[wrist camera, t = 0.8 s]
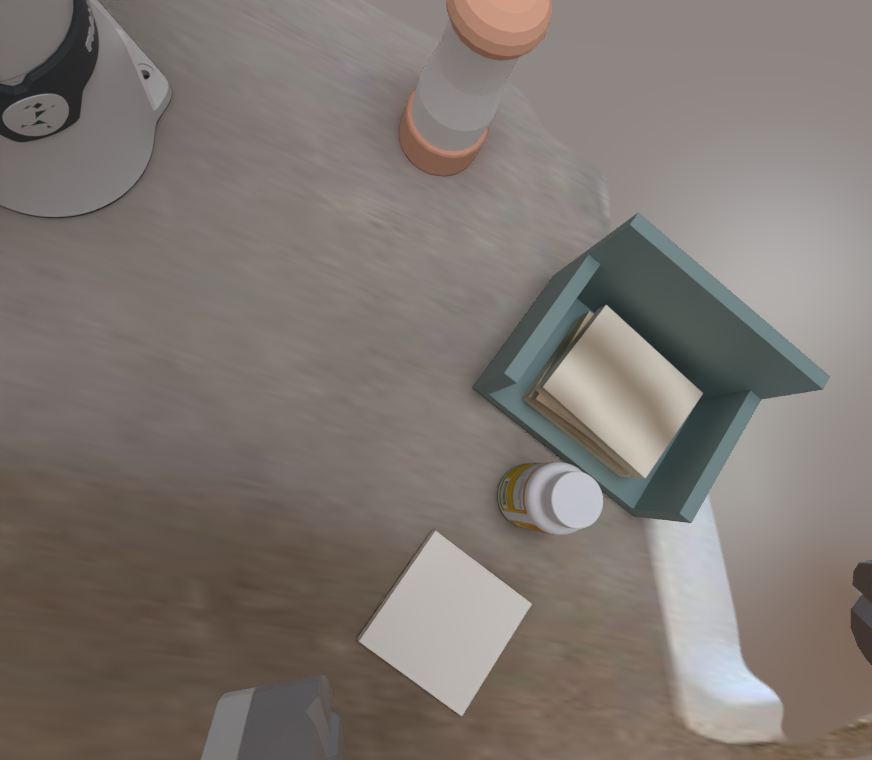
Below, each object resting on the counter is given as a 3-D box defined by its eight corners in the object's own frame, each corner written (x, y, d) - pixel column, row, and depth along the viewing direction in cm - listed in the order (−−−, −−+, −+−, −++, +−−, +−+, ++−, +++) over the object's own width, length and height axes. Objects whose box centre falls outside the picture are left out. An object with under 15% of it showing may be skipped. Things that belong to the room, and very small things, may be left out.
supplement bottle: (567, 503, 54) (627, 509, 44) (519, 541, 52) (570, 555, 43) (532, 451, 54) (585, 446, 44) (484, 487, 52) (527, 490, 43)
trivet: (458, 711, 49) (461, 716, 48) (357, 638, 48) (358, 641, 47) (527, 601, 51) (531, 603, 50) (432, 529, 50) (435, 530, 50)
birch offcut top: (635, 478, 50) (645, 478, 49) (535, 389, 50) (542, 386, 48) (691, 395, 53) (703, 393, 51) (597, 309, 52) (606, 304, 50)
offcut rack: (634, 516, 55) (747, 529, 41) (472, 387, 53) (536, 358, 40) (704, 399, 58) (830, 376, 45) (554, 275, 56) (638, 212, 43)
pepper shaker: (384, 146, 54) (434, -22, 36) (422, 85, 56) (490, -105, 38) (454, 191, 55) (539, 50, 37) (490, 129, 57) (588, -35, 39)
